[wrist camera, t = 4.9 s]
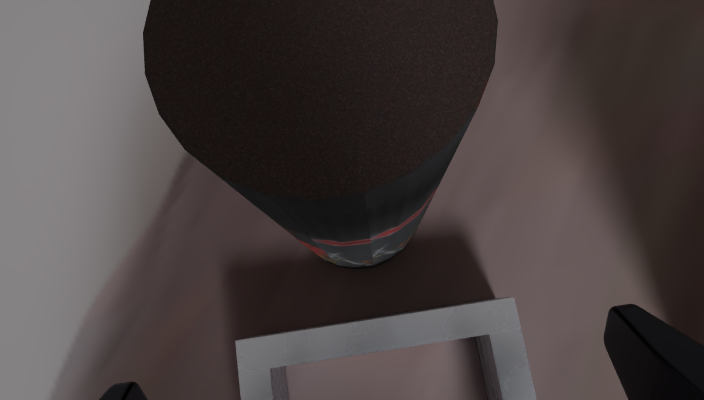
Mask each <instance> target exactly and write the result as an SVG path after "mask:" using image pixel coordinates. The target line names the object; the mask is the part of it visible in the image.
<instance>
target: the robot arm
mask: <svg viewBox="0 0 704 400" xmlns="http://www.w3.org/2000/svg"><path fill="white" fill-rule="evenodd" d="M604 344H605V347H606V350H607V352H608V354H609V357H610V359H611V361H612V364H613V366H614V368H615V370H616V373H617V375H618V377H619V379H620V382H621V384H622V386H623V389H624V391H625V393H626V395H627V398H628V400H704V346H702V345H701V344H699V343H697V342H696V341H694V340H693V339H691V338H689V337H688V336H686V335H684V334H683V333H681V332H679V331H678V330H676V329H675V328H673V327H671V326H670V325H668V324H666V323H665V322H663V321H662V320H660V319H658V318H657V317H655V316H653V315H652V314H650V313H649V312H647V311H645V310H644V309H642V308H640V307H639V306H637V305H634V304H626V305H619V306H614V307H612V308H611V309H610V310H609V312H608V317H607V322H606V327H605V332H604ZM99 400H147V398H146V396H145V395H144V393H143V391H142V390H141V388H140V387H139V385H138V384H137V383H135V382H126V383H119V384H115V385H113V386H112V387H110V388H109V389H108V390H107V391H106V392H105V394H104V395H103V396H102V397H101V398H100V399H99Z"/></svg>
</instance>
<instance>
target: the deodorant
mask: <svg viewBox="0 0 704 400" xmlns="http://www.w3.org/2000/svg"><path fill="white" fill-rule="evenodd" d="M497 25H498V19H497V15H496V10H495V6H494V1H493V0H151V1H150V5H149V10H148V14H147V18H146V22H145V27H144V31H143V41H144V62H145V75H146V78H147V81H148V84H149V87H150V90H151V92H152V95H153V98H154V101H155V104H156V106H157V110H158V112H159V115H160V116H161V118H162V119H163V120H164V122H165V123H166V124H167V126H168V127H169V128H170V130H171V131H172V133H173V134H174V135H175V137H176V138H177V139H178V141H179V142H180V143H181V145H182V146H183V148H184V149H185V150H186V151H187V152H189V153H190V154H191V155H192V156H194V157H195V158H196V159H197V160H199V161H200V162H201V163H202V164H204V165H205V166H206V167H207V168H209V169H210V170H211V171H212V172H214V173H215V174H216V175H217V176H219V177H220V178H221V179H222V180H224V181H225V182H226V183H227V184H229V185H230V186H231V187H232V188H234V189H235V190H236V191H237V192H239V193H240V194H241V195H242V196H244V197H245V198H246V199H247V200H249V201H250V202H251V203H252V204H254V205H255V206H256V207H257V208H259V209H260V210H261V211H263V212H264V213H265V214H266V215H268V216H269V217H270V218H271V219H273V220H274V221H275V222H276V223H278V224H279V225H280V226H281V227H283V228H284V229H285V230H286V231H288V232H289V233H290V234H291V235H293V236H294V237H295V238H296V239H298V240H299V241H300V242H301V243H303V244H304V245H305V246H306V247H308V248H309V249H310V250H311V251H313V252H314V253H315V254H317V255H318V256H319V257H321V258H322V259H323V260H324V261H327V262H329V263H332V264H334V265H337V266H339V267H345V268H353V269H360V268H368V267H374V266H377V265H379V264H381V263H384V262H386V261H388V260H390V259H392V258H393V257H394V256H395V255H397V254H398V253H399V252H400V251H402V250H403V249H404V248H405V246H406V245H407V244H408V242H409V241H410V240H411V238H412V237H413V235H414V233H415V231H416V229H417V227H418V226H419V224H420V222H421V220H422V218H423V216H424V214H425V212H426V210H427V208H428V206H429V204H430V202H431V200H432V198H433V196H434V194H435V192H436V190H437V188H438V186H439V184H440V182H441V180H442V178H443V176H444V174H445V172H446V170H447V168H448V166H449V164H450V162H451V160H452V158H453V156H454V154H455V152H456V150H457V148H458V146H459V144H460V142H461V140H462V138H463V136H464V134H465V132H466V130H467V128H468V126H469V124H470V122H471V120H472V118H473V116H474V114H475V112H476V110H477V108H478V105H479V103H480V100H481V98H482V95H483V93H484V90H485V87H486V85H487V82H488V80H489V77H490V74H491V72H492V69H493V67H494V63H495V51H496V38H497Z"/></svg>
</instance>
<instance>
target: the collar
mask: <svg viewBox="0 0 704 400" xmlns="http://www.w3.org/2000/svg"><path fill="white" fill-rule="evenodd" d="M475 336H476V341H477V346H478V351H479V356H480V361H481V366H482V371H483V376H484V381H485V386H486V391H487V396H488V400H537V399H536V394H535V390H534V385H533V381H532V376H531V372H530V367H529V363H528V358H527V354H526V349H525V344H524V340H523V335H522V331H521V326H520V322H519V317H518V313H517V308H516V304H515V299H514V297H507V298H493V299H487V300H480V301H474V302H468V303H461V304H455V305H449V306H442V307H436V308H429V309H423V310H417V311H410V312H404V313H397V314H391V315H385V316H378V317H372V318H366V319H359V320H353V321H346V322H340V323H334V324H327V325H321V326H315V327H308V328H302V329H295V330H289V331H283V332H276V333H270V334H264V335H257V336H252V337H248V338H244V339H240V340H236V341H235V344H236V354H237V364H238V374H239V385H240V395H241V400H289V395H288V386H287V378H286V370H285V366H288V365H295V364H301V363H308V362H314V361H320V360H327V359H333V358H340V357H346V356H353V355H359V354H366V353H372V352H378V351H385V350H391V349H398V348H404V347H411V346H417V345H423V344H430V343H436V342H443V341H449V340H456V339H462V338H469V337H475Z"/></svg>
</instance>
